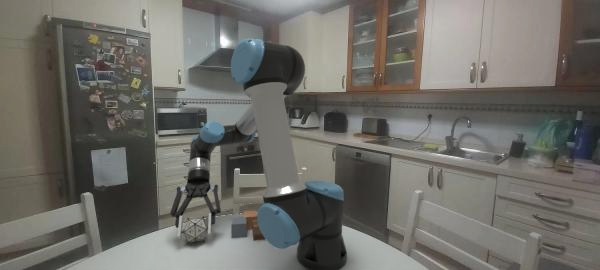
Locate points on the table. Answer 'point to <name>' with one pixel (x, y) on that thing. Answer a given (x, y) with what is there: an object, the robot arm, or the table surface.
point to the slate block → (238, 227)
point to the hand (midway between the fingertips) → (194, 235)
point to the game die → (195, 230)
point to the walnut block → (256, 231)
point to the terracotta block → (249, 218)
